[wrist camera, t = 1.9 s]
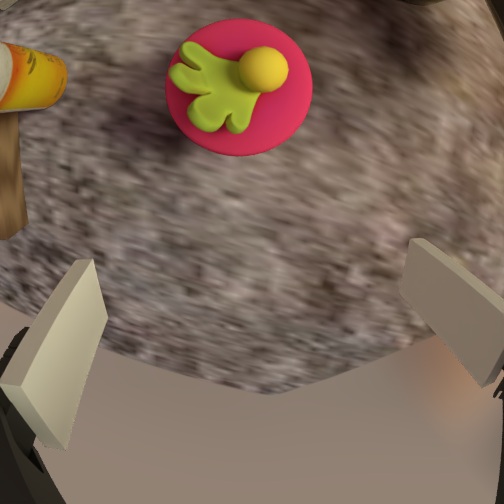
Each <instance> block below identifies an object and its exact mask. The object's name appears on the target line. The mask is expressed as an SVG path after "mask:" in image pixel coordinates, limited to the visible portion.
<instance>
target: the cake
mask: <svg viewBox="0 0 504 504" xmlns="http://www.w3.org/2000/svg"><path fill="white" fill-rule="evenodd" d="M312 89H313V86H312V76H311V71H310V68H309V65H308V62H307V60H306V58H305V56H304V54H303V53H302V51H301V50H300V48H299V47H298V46H297V45H296V43H295V42H294V41H293V40H292V39H291V38H290V37H288V36H287V35H286V34H285V33H283V32H282V31H280V30H279V29H277V28H275V27H273V26H271V25H269V24H266V23H263V22H260V21H256V20H251V19H228V20H223V21H218V22H215V23H212V24H209V25H207V26H205V27H203V28H201V29H199V30H198V31H196V32H195V33H194V34H192V35H191V36H190V37H189V38H187V39H186V40H185V41H184V42H183V44H182V45H181V46H180V47H179V48H178V50H177V51H176V53H175V54H174V56H173V58H172V60H171V62H170V65H169V68H168V71H167V76H166V83H165V92H166V100H167V104H168V108H169V110H170V113H171V115H172V117H173V119H174V121H175V123H176V124H177V125H178V127H179V128H180V129H181V131H182V132H183V133H184V134H185V135H186V136H187V137H188V138H190V139H191V140H192V141H193V142H195V143H196V144H198V145H199V146H201V147H203V148H205V149H207V150H209V151H212V152H215V153H218V154H223V155H228V156H249V155H255V154H259V153H262V152H265V151H268V150H270V149H273V148H275V147H276V146H278V145H280V144H281V143H283V142H284V141H286V140H287V139H288V138H289V137H290V136H291V135H292V134H294V132H295V131H296V130H297V129H298V128H299V126H300V125H301V123H302V122H303V120H304V119H305V116H306V114H307V112H308V110H309V106H310V103H311V98H312Z"/></svg>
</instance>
